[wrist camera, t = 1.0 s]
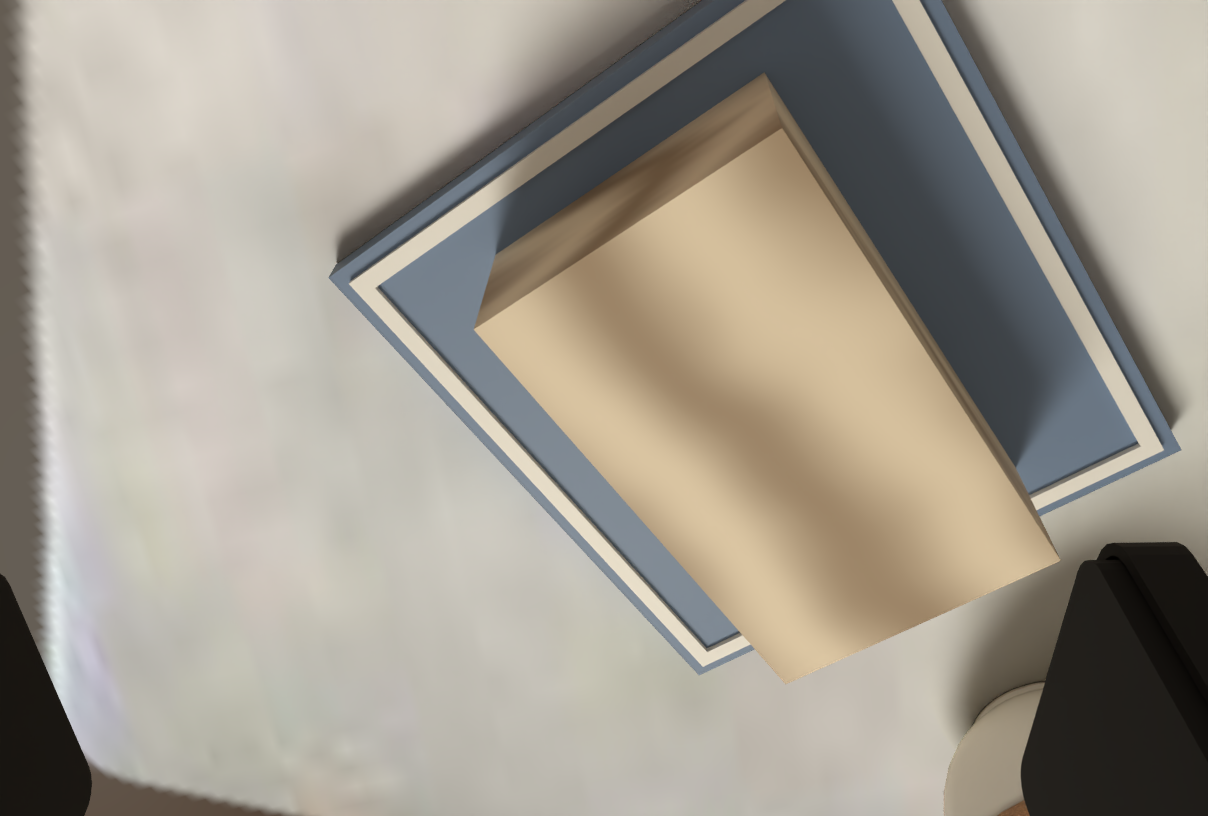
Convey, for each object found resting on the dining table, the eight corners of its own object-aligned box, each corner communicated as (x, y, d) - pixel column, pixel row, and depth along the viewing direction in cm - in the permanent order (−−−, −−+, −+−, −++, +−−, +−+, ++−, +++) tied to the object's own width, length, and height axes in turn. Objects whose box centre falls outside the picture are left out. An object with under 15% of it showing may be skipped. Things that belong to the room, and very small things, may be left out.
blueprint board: (871, -123, 29) (917, -89, 24) (1169, 434, 38) (1248, 542, 33) (336, 264, 36) (284, 353, 31) (698, 657, 45) (703, 775, 40)
